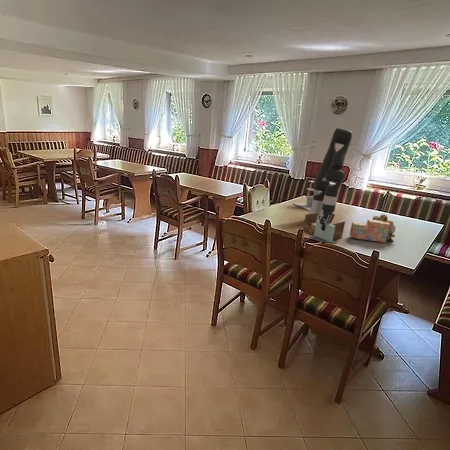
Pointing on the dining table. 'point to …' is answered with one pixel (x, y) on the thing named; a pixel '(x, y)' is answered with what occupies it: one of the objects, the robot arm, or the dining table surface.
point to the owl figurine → (391, 229)
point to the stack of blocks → (370, 230)
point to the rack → (312, 219)
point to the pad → (321, 239)
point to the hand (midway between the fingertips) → (324, 230)
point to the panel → (325, 234)
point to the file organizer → (310, 198)
